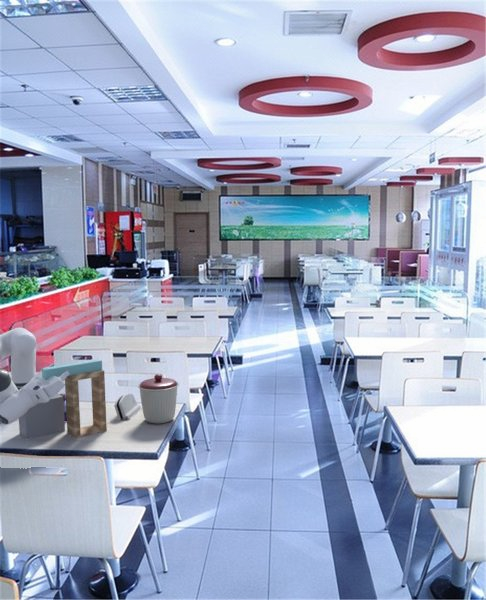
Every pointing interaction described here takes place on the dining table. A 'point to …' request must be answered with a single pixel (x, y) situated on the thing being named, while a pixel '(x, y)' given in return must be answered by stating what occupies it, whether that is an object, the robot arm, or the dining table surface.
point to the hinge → (126, 406)
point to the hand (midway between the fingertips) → (63, 369)
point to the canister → (158, 399)
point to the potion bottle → (64, 406)
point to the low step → (43, 419)
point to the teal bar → (72, 368)
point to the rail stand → (97, 404)
